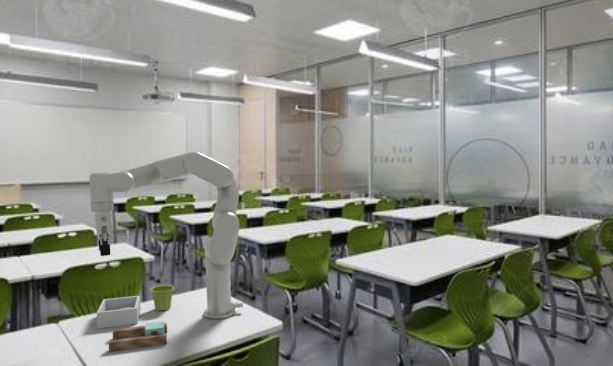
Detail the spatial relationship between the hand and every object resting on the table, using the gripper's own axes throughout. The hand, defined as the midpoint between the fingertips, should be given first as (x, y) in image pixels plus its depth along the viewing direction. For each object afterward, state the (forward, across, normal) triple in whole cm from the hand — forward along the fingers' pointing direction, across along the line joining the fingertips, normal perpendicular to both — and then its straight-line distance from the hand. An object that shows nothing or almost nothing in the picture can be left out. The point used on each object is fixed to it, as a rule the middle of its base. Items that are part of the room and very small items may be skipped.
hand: (104, 252), depth 155 cm
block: (+29, -18, -14) cm, 37 cm away
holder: (+29, +10, -5) cm, 31 cm away
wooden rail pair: (+29, -17, -9) cm, 34 cm away
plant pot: (+29, +12, -22) cm, 38 cm away
